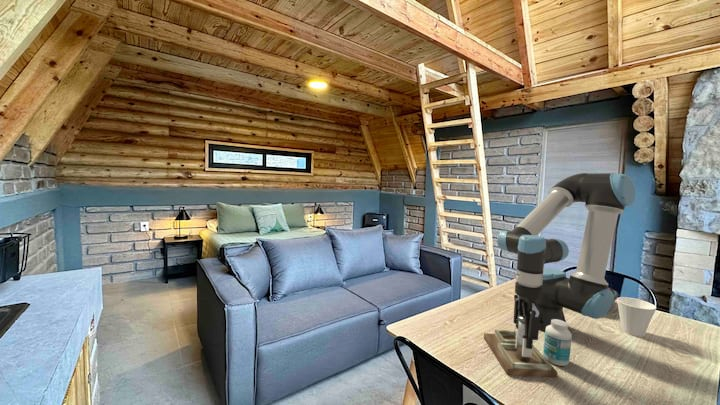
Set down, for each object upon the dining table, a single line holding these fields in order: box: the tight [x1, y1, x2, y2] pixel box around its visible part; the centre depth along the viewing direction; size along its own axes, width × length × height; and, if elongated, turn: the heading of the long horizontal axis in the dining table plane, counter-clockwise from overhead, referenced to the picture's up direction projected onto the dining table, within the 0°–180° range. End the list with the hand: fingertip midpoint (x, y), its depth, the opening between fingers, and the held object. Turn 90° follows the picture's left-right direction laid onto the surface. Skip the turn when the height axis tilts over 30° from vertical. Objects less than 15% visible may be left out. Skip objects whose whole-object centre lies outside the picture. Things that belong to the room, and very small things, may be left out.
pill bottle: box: [542, 319, 573, 367], centre depth 101 cm, size 8×7×14 cm
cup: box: [616, 296, 657, 337], centre depth 121 cm, size 12×12×12 cm
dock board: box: [483, 329, 558, 379], centre depth 103 cm, size 15×21×4 cm
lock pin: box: [516, 315, 530, 362], centre depth 98 cm, size 5×5×14 cm
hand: (523, 351), depth 99 cm, fingers closed on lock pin, 4 cm apart
